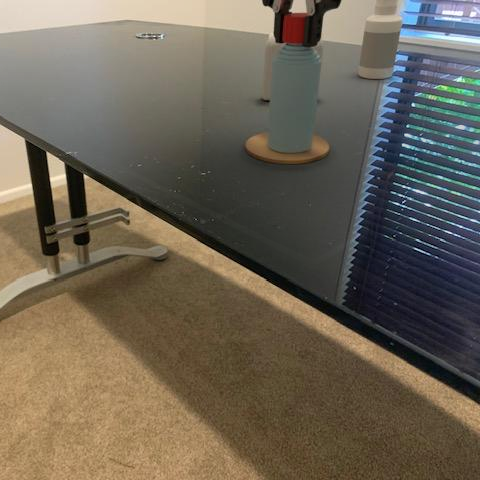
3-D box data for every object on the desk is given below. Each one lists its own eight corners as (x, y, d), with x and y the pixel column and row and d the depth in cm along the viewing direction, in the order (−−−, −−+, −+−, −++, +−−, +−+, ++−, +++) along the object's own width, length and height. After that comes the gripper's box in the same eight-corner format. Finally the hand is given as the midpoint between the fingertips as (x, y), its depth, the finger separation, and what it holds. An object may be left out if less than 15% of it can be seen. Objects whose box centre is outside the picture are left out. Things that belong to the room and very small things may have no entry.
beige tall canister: (357, 79, 105) (371, -18, 96) (357, 71, 110) (370, -21, 101) (393, 79, 103) (411, -19, 94) (391, 72, 108) (408, -22, 99)
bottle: (272, 136, 77) (280, 15, 69) (315, 140, 75) (329, 16, 66) (262, 150, 72) (269, 23, 64) (308, 155, 70) (322, 23, 61)
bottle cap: (300, 45, 64) (302, 18, 62) (275, 41, 67) (277, 15, 65) (321, 40, 66) (324, 14, 64) (296, 36, 69) (298, 11, 67)
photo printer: (317, 95, 96) (324, 26, 90) (318, 102, 93) (326, 30, 86) (262, 95, 98) (265, 28, 92) (261, 102, 95) (265, 32, 88)
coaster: (281, 129, 81) (282, 125, 81) (346, 147, 73) (346, 144, 73) (228, 148, 75) (228, 144, 75) (292, 171, 67) (292, 167, 67)
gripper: (240, -108, 60) (236, 43, 69) (342, -123, 51) (323, 56, 59) (282, -109, 64) (273, 35, 73) (385, -122, 54) (360, 46, 63)
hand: (296, 43), depth 66 cm, fingers closed on bottle cap, 4 cm apart
